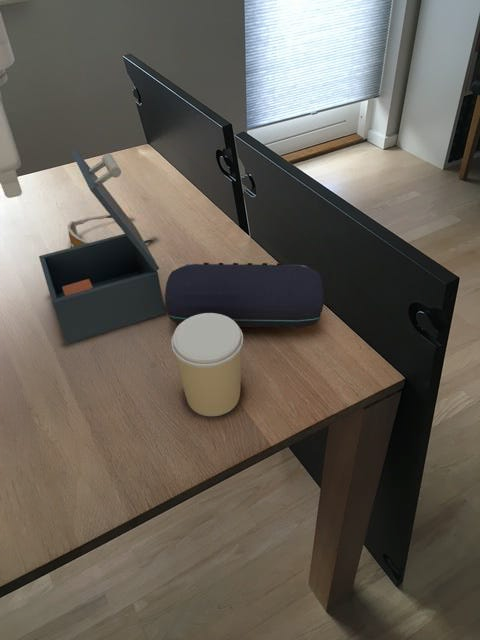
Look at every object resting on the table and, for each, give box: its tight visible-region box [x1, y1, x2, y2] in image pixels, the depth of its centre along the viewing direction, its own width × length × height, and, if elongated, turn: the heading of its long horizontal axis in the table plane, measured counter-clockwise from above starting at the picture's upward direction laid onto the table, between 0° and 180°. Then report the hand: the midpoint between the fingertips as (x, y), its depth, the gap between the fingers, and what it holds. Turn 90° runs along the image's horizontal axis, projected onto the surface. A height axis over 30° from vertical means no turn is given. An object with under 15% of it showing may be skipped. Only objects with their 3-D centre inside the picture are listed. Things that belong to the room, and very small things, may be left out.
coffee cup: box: [170, 313, 244, 417], centre depth 73 cm, size 9×9×12 cm
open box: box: [38, 233, 166, 345], centre depth 91 cm, size 17×14×9 cm
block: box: [62, 279, 93, 296], centre depth 90 cm, size 5×5×5 cm
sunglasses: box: [67, 214, 154, 248], centre depth 107 cm, size 14×15×5 cm
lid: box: [70, 148, 160, 272], centre depth 83 cm, size 17×14×5 cm
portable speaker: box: [164, 262, 325, 328], centre depth 86 cm, size 25×10×10 cm, turn 86°
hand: (9, 176), depth 63 cm, fingers open, 8 cm apart
